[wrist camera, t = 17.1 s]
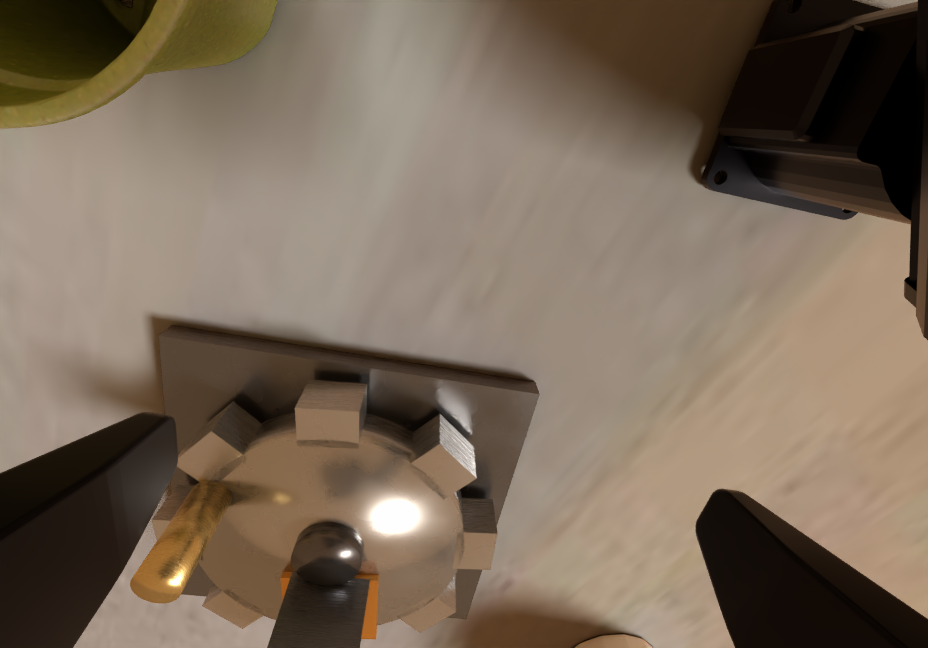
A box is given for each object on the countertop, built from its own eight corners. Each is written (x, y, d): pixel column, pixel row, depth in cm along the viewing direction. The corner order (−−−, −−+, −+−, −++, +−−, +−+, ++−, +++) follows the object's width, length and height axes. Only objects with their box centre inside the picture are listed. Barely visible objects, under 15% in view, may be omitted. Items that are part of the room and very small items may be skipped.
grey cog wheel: (266, 316, 17) (186, 406, 12) (554, 478, 22) (591, 600, 16) (130, 542, 22) (29, 680, 17) (388, 639, 26) (374, 775, 21)
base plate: (535, 382, 21) (539, 394, 20) (465, 602, 27) (466, 619, 26) (172, 325, 19) (158, 335, 18) (189, 577, 25) (179, 593, 25)
